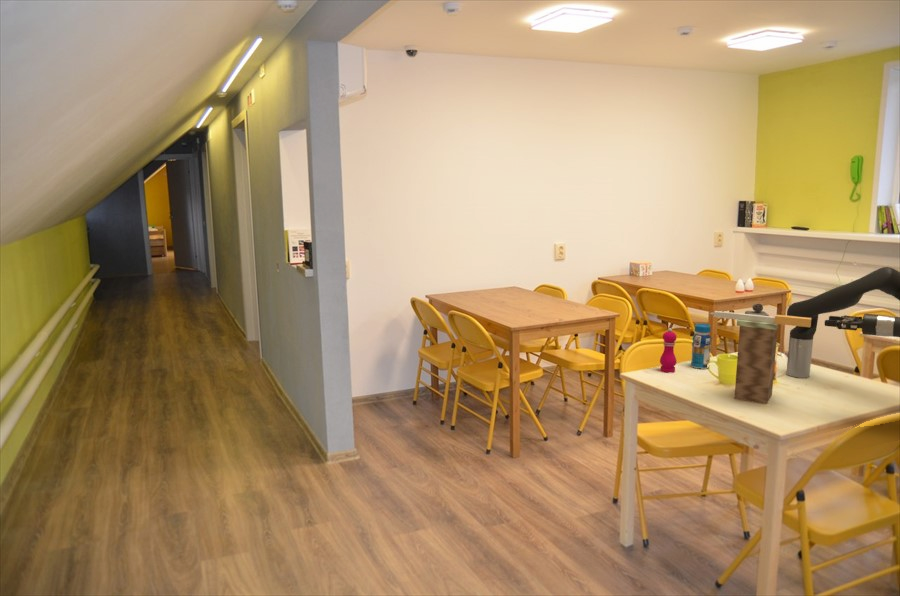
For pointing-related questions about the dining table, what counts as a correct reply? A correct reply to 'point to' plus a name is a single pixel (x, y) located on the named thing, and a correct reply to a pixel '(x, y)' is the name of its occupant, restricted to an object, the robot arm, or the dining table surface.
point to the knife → (766, 318)
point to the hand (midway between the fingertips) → (826, 320)
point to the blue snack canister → (701, 346)
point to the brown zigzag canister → (755, 361)
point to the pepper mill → (668, 352)
